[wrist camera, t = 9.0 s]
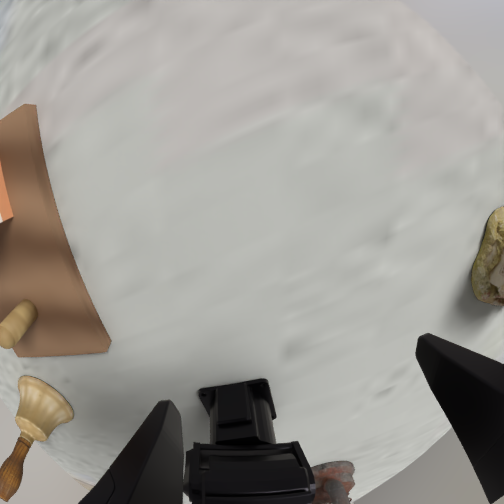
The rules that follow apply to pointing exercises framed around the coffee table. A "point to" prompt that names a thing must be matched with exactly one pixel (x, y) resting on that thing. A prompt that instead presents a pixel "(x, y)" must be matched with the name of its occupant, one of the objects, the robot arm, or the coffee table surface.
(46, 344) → the pin board
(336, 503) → the lantern
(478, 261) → the ceramic model
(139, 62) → the coffee table surface
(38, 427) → the hand bell
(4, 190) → the sleeve
